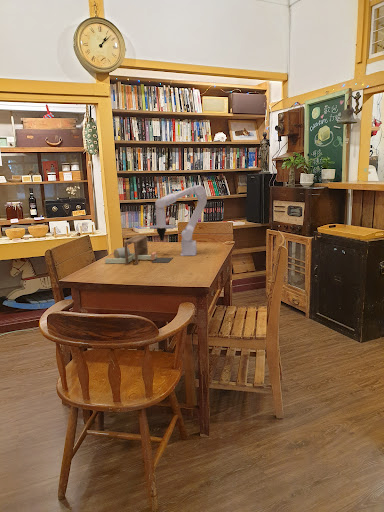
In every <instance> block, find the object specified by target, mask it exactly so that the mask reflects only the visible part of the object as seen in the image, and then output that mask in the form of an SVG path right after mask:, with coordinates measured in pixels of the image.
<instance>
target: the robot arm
mask: <svg viewBox="0 0 384 512" xmlns="http://www.w3.org/2000/svg"><path fill="white" fill-rule="evenodd" d="M187 195H195V196H196V198H197V204H196V206H195V208H194V210H193V213H192V215H191V216H190V219H189V221H188V223H187V224H186V226H185V227H184V229H183V230H182V231H181V233H180V234H181V240H180V243H181V247H180V248H181V253H180V254H179V255H180V256H181V257H182V256H183V257H185V256H196V255H197V254H198V253H197V252H198V250H197V246H198V245H197V241H196V240H193V233H194V231H195V229H196V228H195V227H196V226H197V224H198V221H199V219H200V217H201V215H202V213H203V211H204V210H205V207H206V205H207V202H208V201H207V200H208V199H207V191H206V189H205V187H204V186H203V185H202V184H201V185H200V184H196V185H194V186H190V187H187V188H185V189H183V190H181V191H179V192H177V193H173V192H172V193H171V192H169V193H168V194H167V195H165V196H161V197H160V198H158V199H156V200H155V221H156V224H155V225H150V226H149V230H156V233H157V234H158V236H159V240H160V241H164V239H165V235H166V231H167V229H168V230H169V229H170V230H171V229H174V224H173V225H171V224H170V225H168V224H167V221H166V210H165V207H168V206H169V205H172V204H174V203H176V202H177V200H178V199H180V198H183V197H185V196H187Z"/></svg>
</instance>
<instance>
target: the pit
mask: <svg viewBox="0 0 384 512" xmlns="http://www.w3.org/2000/svg"><path fill="white" fill-rule="evenodd" d="M173 258H174V257H157V258H156V259H155V260H151V263H152V264H169V263H170V262H171V261H172V260H173Z"/></svg>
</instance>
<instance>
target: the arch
mask: <svg viewBox="0 0 384 512" xmlns="http://www.w3.org/2000/svg"><path fill="white" fill-rule="evenodd" d="M123 244H124V247H125V260H126V263H125V265H126V266H127V265H129V263H130V262H129V263H128V250H127V247H128V244H133V247H134V248H133V249H134V251H133V252H134V253H135V259H134V261H135V263H134V264H135V265H139V259H138V255H149V250H148V249H149V248H148V246H149V245H148V236H147V235H146V234H145V235H135V236H132V237H130V238H128V239H127V240H124V241H123Z"/></svg>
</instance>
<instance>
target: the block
mask: <svg viewBox="0 0 384 512" xmlns="http://www.w3.org/2000/svg"><path fill="white" fill-rule="evenodd" d="M157 254H158V253H157V252H156V251H153V252H151V254H148V255H138V260H150V261H153V260H155V259H156V258H158V257H157V256H158V255H157ZM133 260H135V252H130V256H129V257H128V263H130V262H132V261H133ZM104 264H126V260H125V258H115V257H114V258H112V257H111V258H105V259H104Z"/></svg>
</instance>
